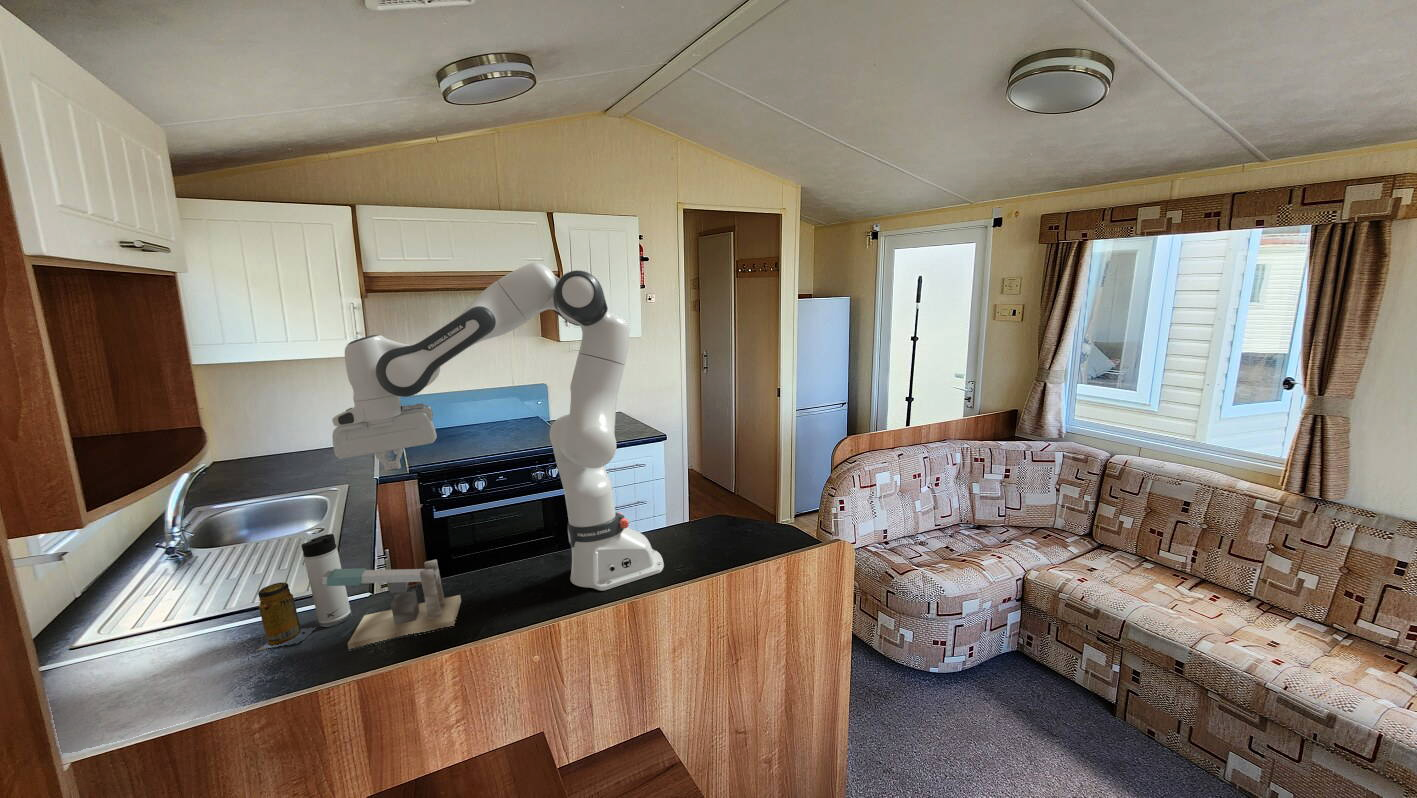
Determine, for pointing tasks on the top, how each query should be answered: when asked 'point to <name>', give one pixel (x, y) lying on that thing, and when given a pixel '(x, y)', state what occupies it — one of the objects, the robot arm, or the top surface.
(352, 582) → the press lever
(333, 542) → the travel mug
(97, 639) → the top surface
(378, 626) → the press base
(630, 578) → the robot arm
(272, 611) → the condiment
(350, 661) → the top surface
